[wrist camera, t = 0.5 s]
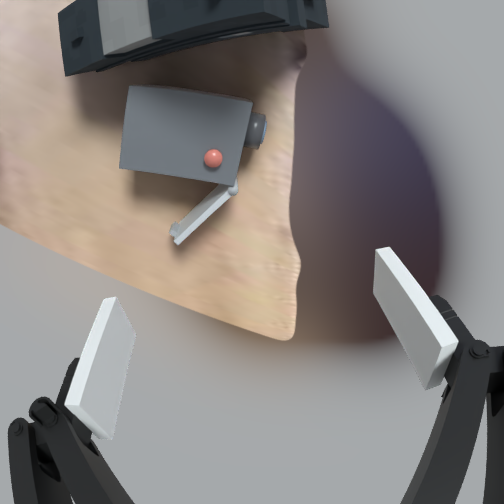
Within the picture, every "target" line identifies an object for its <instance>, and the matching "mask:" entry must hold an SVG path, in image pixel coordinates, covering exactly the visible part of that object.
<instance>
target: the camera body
mask: <svg viewBox="0 0 504 504" xmlns="http://www.w3.org/2000/svg"><path fill="white" fill-rule="evenodd" d="M252 105H253V102H252V101H251V100H250V99H245V98H240V97H235V96H229V95H224V94H218V93H212V92H206V91H199V90H193V89H186V88H178V87H170V86H161V85H151V84H138V85H129V90H128V96H127V103H126V110H125V117H124V125H123V134H122V143H121V153H120V164H119V168H120V169H128V170H136V171H143V172H150V173H157V174H164V175H170V176H177V177H183V178H190V179H196V180H202V181H208V182H214V183H219V184H225V185H231V186H234V185H235V180H236V176H237V171H238V167H239V162H240V158H241V153H242V149H243V146H244V147H249V148H254V149H258V148H259V146H260V144H262V142H263V139H264V136H265V131H266V125H267V121H265V120H266V115H264V114H259V113H254V112H251V110H252Z"/></svg>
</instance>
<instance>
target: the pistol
mask: <svg viewBox="0 0 504 504" xmlns="http://www.w3.org/2000/svg"><path fill="white" fill-rule="evenodd" d="M58 21H59V31H60V41H61V49H62V57H63V64H64V71H65V77H66V76H71V75H75V74H80V73H85V72H90V71H95V70H96V72H100V71H104V70H107V69H109V68H112V67H115V66H117V65H120V64H122V63H125V62H128V61H131V62H133V61H142V60H148V59H151V58H154V57H157V56H161V55H164V54H168V53H171V52H175V51H179V50H182V49H186V48H190V47H194V46H198V45H203V44H207V43H212V42H216V41H221V40H226V39H232V38H237V37H243V36H249V35H255V34H262V33H269V32H277V31H282V32H287V31H295V30H305V29H316V28H328V27H329V23H328V15H327V8H326V1H325V0H76V1H74V2H73V3H71V4H70V5H68V6H67V7H66V8H64V9H63V10H62V11H60V12H59V13H58Z"/></svg>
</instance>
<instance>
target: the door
mask: <svg viewBox="0 0 504 504" xmlns="http://www.w3.org/2000/svg"><path fill="white" fill-rule="evenodd" d="M237 193H238V181H237V176H236V180H235V185H234V186H231V185H225V184H219V185H218V186H217V187H216V188H215V189H213V190H212V191H211V192H210V193H209V194H208V195H207V196H206V197H205V198H204V199H203V200H202V201H201V202H200V203H199V204H198V205H197V206H195V207H194V208H193V209H192V210H191V211H190V212H189V213H188V214H187V215H186V216H185V217H184V218H183V219H182V220H181V221H180V223H179V224H178V223H177V222H176V221H175V222H174V223H173V224H172V225H171V228H170V230H169V233H170V234H171V235H172V236H173V237H174V242H175V243H176V244H177V245H179V244H180V243H181V242H182V241H183V240H184V239H185V238H186V237H187V236H188V235H190V234H191V233H192V232H193V231H194V230H195V229H196V228H197V227H198V226H199V225H200V224H201V223H202V222H203V221H205V220H206V219H207V218H208V217H209V216H210V215H211V214H212V213H213V212H214V211H215V210H217V209H218V208H219V207H220V206H221V205H222V204H223V203H224V202H225V201H226V200H228V199H229V198H230V197H231V196H232V195H236V194H237Z"/></svg>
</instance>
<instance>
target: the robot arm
mask: <svg viewBox="0 0 504 504" xmlns="http://www.w3.org/2000/svg"><path fill="white" fill-rule="evenodd" d="M375 255H376V256H375V274H374V288H373V293H374V296H375V297H376V299H377V301H378V302H379V304H380V306H381V308H382V310H383V311H384V313H385V315H386V317H387V318H388V320H389V322H390V324H391V326H392V328H393V329H394V331H395V333H396V335H397V337H398V339H399V340H400V342H401V344H402V346H403V348H404V350H405V352H406V354H407V356H408V357H409V360H410V361H411V363H412V365H413V367H414V369H415V371H416V373H417V375H418V377H419V379H420V381H421V383H422V385H423V387H424V389H425V390H428V389H430V388H433V387H436V386H438V385H440V384H441V382H442V380H443V378H444V377H445V379H446V381H447V383H448V384H447V386H446V388H445V390H444V392H443V395H442V396H441V397H443V399H442V403H441V405H440V409H439V412H438V415H437V418H436V421H435V424H434V427H433V429H432V432H431V435H430V437H429V440H428V443H427V445H426V448H425V451H424V453H423V455H422V458H421V460H420V463H419V465H418V467H417V470H416V472H415V474H414V476H413V479H412V481H411V483H410V485H409V487H408V489H407V491H406V493H405V495H404V497H403V500H402V501H401V503H400V504H455V502H456V499H457V496H458V494H459V491H460V488H461V486H462V483H463V480H464V477H465V475H466V471H467V469H468V465H469V462H470V459H471V456H472V452H473V449H474V445H475V442H476V438H477V434H478V430H479V426H480V422H481V418H482V413H483V409H484V404H485V399H486V401H487V463H486V478H485V490H484V498H483V504H504V346H498V347H489V346H488V345H487V344H486V343H485V342H483V341H481V340H475V339H474V338H473V336H472V335H471V334H470V332H469V331H468V329H467V328H466V327H465V325H464V324H463V322H462V321H461V320H460V318H459V317H457V314H456V313H455V312H454V310H452V307H451V306H450V305H449V304H448V302H447V301H446V300H445V299H443V298H441V297H440V296H439V295H435V296H431V297H428V296H427V295H426V294H425V292H424V291H423V290H422V288H421V287H420V285H419V284H418V283H417V282H416V280H415V279H414V278H413V276H412V275H411V274H410V273H409V271H408V270H407V269H406V267H405V266H404V265H403V263H402V262H401V261H400V260H399V258H398V257H397V256H396V255H395V253H394V252H393V251H392V250H391V248H390V247H386V248H381V249H377V250H376V254H375ZM135 338H136V334H135V331H134V330H133V328H132V326H131V324H130V322H129V320H128V318H127V316H126V314H125V312H124V310H123V309H122V307H121V305H120V303H119V301H118V299H117V297H112V298H105V299H104V300H103V302H102V305H101V307H100V309H99V312H98V314H97V317H96V319H95V321H94V324H93V326H92V329H91V332H90V334H89V337H88V339H87V342H86V344H85V347H84V349H83V352H82V355H81V357H80V358H75V359H74V360H73V361H72V363H71V364H70V365H69V367H68V370H67V372H66V377H65V378H64V381H63V384H62V386H61V389H60V392H59V395H58V398H57V401H56V404H54V403H53V402H52V401H51V400H50V399H49V398H47V397H40V398H38V399H36V400H35V401H34V402H33V403H32V405H31V407H30V409H29V416H30V418H31V419H33V420H34V421H35V422H33V423H28V422H27V421H26V420H25V419H24V418H17V419H15V420H14V421H13V422H12V423H11V424H10V426H9V428H8V448H9V463H10V474H11V483H12V490H13V497H14V503H15V504H73V502H72V499H71V496H72V498H73V500H74V502H75V504H134V502H133V501H132V500H131V498H130V497H129V495H128V494H127V493H126V491H125V490H124V488H123V487H122V486H121V484H120V483H119V481H118V480H117V478H116V477H115V475H114V474H113V472H112V471H111V469H110V468H109V466H108V464H107V463H106V461H105V460H104V458H103V457H102V455H101V453H100V451H99V450H98V448H97V446H96V445H95V443H94V442H93V441H92V440H91V434H92V433H93V434H95V435H96V436H97V437H98V438H99V439H113V437H114V432H115V426H116V421H117V416H118V411H119V406H120V402H121V396H122V392H123V388H124V383H125V379H126V375H127V370H128V366H129V362H130V357H131V354H132V349H133V346H134V342H135ZM70 494H71V495H70Z"/></svg>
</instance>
